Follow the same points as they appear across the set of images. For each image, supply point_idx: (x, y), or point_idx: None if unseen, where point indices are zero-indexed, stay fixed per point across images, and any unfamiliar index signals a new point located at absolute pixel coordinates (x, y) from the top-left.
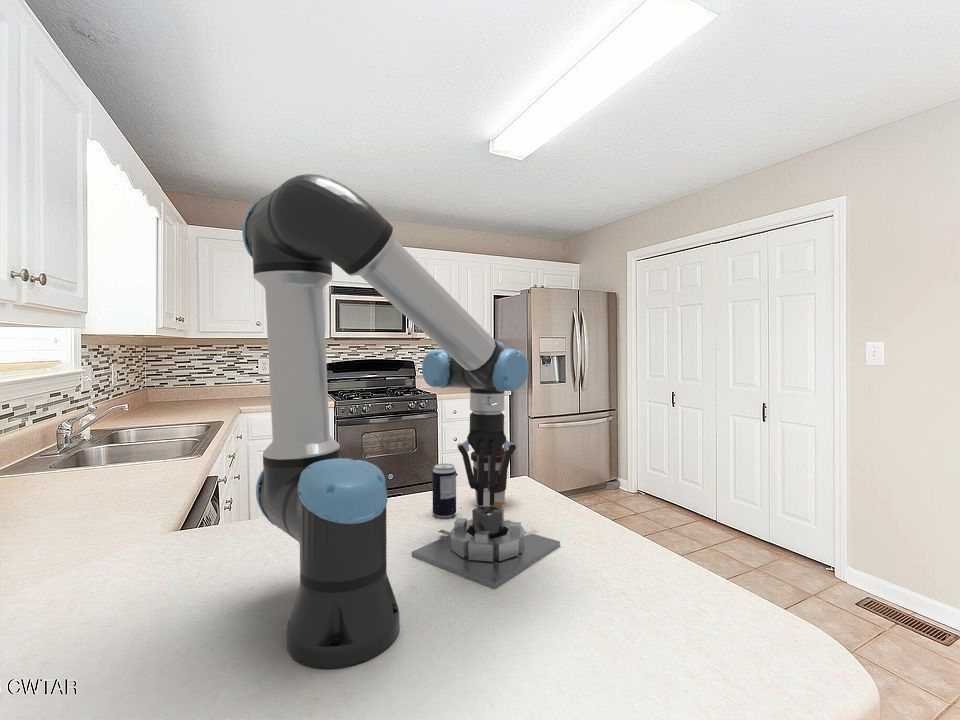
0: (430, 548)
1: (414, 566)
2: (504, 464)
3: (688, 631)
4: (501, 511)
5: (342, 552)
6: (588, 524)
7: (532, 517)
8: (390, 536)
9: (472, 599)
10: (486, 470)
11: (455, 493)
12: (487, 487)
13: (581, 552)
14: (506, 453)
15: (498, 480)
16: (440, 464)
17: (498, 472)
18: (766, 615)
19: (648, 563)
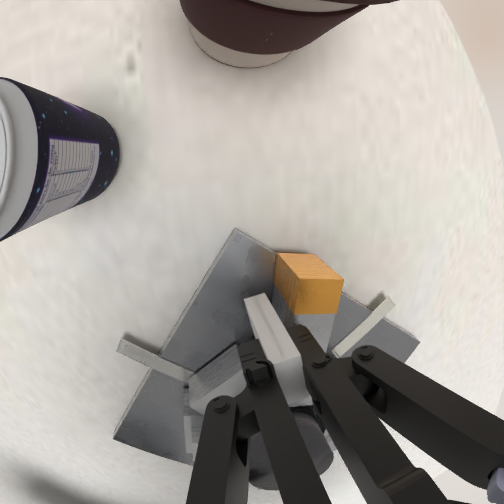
0: (142, 428)
1: (138, 454)
2: (436, 451)
3: None
4: (329, 460)
5: None
6: (485, 202)
7: (391, 149)
8: (16, 346)
9: (255, 492)
10: (274, 6)
11: (94, 160)
12: (256, 46)
13: (436, 349)
14: (477, 485)
15: (369, 405)
16: None
17: (393, 390)
18: (492, 406)
19: (486, 352)
